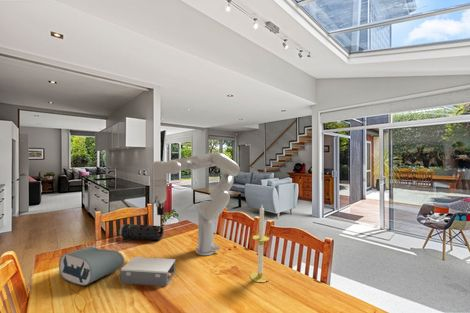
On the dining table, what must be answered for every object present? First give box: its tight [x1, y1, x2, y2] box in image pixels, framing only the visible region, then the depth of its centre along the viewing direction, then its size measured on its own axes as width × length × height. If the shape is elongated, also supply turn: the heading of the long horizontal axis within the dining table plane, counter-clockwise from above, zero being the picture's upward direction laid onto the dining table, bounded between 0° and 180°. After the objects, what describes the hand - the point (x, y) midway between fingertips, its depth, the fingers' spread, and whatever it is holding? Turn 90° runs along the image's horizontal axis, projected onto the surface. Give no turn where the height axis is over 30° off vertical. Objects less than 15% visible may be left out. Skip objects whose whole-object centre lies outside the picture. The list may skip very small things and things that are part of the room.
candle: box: [249, 204, 270, 283], centre depth 114 cm, size 10×10×38 cm
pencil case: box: [58, 244, 125, 286], centre depth 114 cm, size 22×19×13 cm
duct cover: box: [120, 256, 176, 273], centre depth 112 cm, size 22×12×1 cm, turn 86°
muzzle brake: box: [118, 223, 164, 241], centre depth 159 cm, size 10×28×10 cm, turn 86°
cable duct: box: [120, 261, 176, 287], centre depth 112 cm, size 22×13×6 cm, turn 86°
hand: (160, 214), depth 130 cm, fingers closed
